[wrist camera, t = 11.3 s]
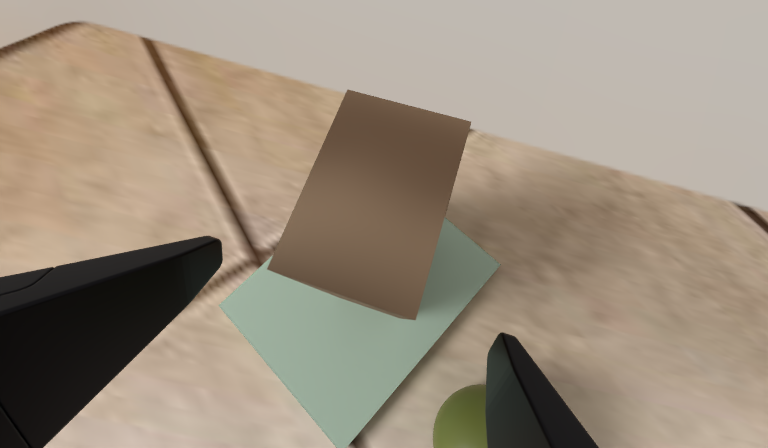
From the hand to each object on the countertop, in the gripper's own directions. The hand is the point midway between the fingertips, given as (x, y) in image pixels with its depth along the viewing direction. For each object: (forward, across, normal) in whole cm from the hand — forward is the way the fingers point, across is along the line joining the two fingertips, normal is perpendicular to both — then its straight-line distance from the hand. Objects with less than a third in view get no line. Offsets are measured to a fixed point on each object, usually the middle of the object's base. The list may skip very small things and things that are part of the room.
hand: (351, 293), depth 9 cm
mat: (+8, +1, +6) cm, 10 cm away
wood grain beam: (+9, 0, +4) cm, 10 cm away
